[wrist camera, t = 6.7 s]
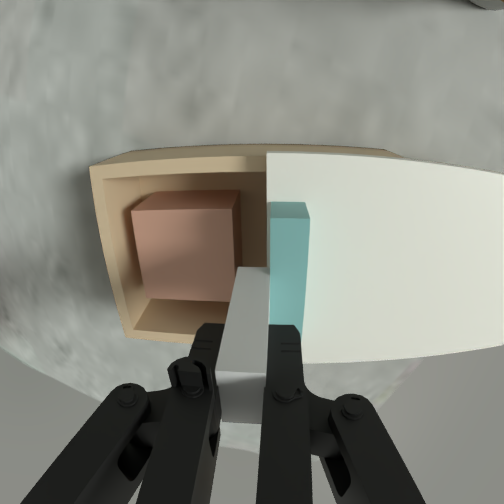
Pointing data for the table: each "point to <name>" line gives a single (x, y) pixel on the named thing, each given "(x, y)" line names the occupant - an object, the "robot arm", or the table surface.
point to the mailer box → (184, 230)
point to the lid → (384, 255)
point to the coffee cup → (490, 4)
